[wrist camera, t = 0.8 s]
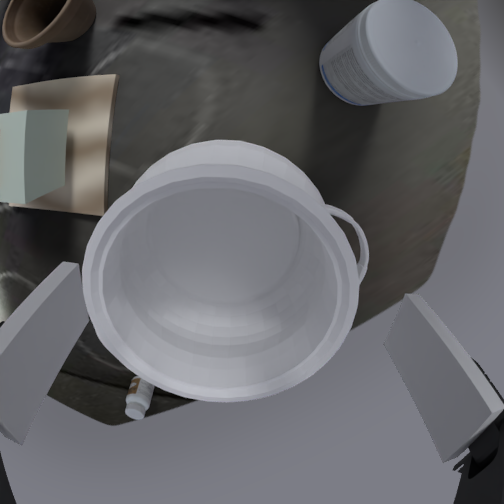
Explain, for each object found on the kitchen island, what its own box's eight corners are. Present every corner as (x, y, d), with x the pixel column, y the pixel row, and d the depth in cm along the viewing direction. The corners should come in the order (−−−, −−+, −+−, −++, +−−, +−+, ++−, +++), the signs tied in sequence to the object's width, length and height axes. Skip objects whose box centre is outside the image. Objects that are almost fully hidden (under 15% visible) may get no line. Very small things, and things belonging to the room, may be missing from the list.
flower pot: (33, 31, 23) (-9, 19, 14) (90, -25, 20) (56, -51, 11) (63, 73, 27) (18, 66, 18) (127, 13, 25) (94, -15, 15)
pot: (187, 335, 44) (170, 425, 28) (98, 196, 34) (21, 247, 19) (346, 273, 40) (395, 353, 25) (280, 103, 31) (316, 83, 16)
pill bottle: (135, 371, 47) (124, 403, 40) (157, 381, 48) (149, 413, 41) (130, 384, 49) (120, 415, 42) (151, 392, 50) (143, 424, 43)
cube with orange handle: (16, 114, 25) (-32, 120, 16) (69, 109, 26) (20, 110, 17) (14, 182, 29) (-31, 202, 20) (64, 185, 29) (19, 207, 21)
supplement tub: (387, 111, 31) (461, 112, 18) (316, 101, 31) (366, 87, 17) (386, 43, 27) (454, 15, 14) (316, 29, 27) (360, -19, 13)
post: (17, 87, 26) (-34, 87, 16) (119, 75, 28) (75, 61, 18) (13, 203, 33) (-33, 228, 23) (107, 213, 35) (66, 246, 25)
